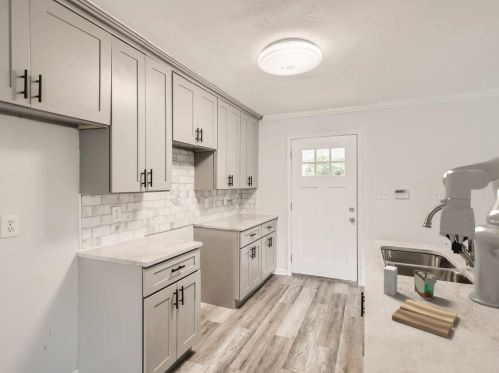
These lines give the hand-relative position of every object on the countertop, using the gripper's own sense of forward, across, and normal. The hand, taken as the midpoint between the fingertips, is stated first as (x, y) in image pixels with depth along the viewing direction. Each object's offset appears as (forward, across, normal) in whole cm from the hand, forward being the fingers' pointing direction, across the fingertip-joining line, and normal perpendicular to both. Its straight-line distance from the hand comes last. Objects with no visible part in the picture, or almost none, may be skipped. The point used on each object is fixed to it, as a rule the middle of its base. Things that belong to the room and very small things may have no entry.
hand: (456, 253), depth 101 cm
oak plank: (+22, -7, -9) cm, 25 cm away
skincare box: (+23, -23, +2) cm, 33 cm away
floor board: (+23, -7, -13) cm, 27 cm away
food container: (+23, -11, +10) cm, 28 cm away
